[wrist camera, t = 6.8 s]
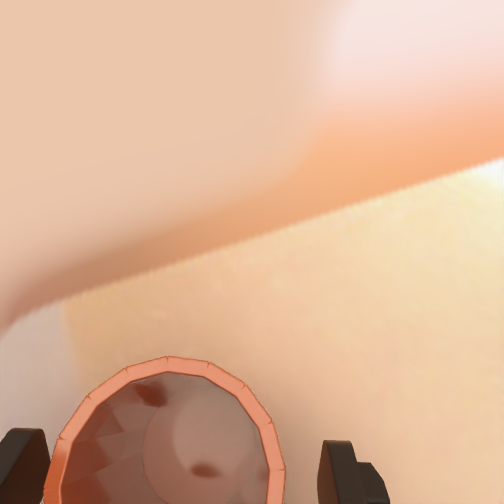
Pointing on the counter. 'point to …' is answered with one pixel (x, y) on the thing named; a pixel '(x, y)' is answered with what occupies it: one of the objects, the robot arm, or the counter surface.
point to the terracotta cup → (168, 441)
